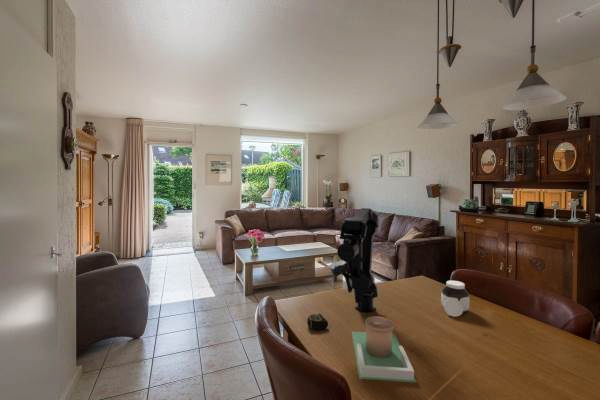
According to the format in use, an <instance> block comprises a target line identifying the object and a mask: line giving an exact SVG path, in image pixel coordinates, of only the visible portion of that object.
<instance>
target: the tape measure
mask: <svg viewBox="0 0 600 400" xmlns="http://www.w3.org/2000/svg"><path fill="white" fill-rule="evenodd" d="M306 322H307V326H308V328H310V329H311V330H317V331H319V330H323V329H326V328H328V326H329V322H328V320H327V319H326V318H325V317H324V316H323V314H321V313H317V314H316V313H313V314H310V315H309V316H308V317H307V321H306Z"/></svg>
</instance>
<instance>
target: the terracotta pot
mask: <svg viewBox="0 0 600 400" xmlns="http://www.w3.org/2000/svg"><path fill="white" fill-rule="evenodd" d="M364 325H365V332H366V351H367V353H369V354H370V355H372V356H374V357H378V358H387V357H389V356H391V355H392V334H393V329H394V322H393V321H392V320H390V319H389V318H386V317H383V316H377V315H376V316H375V315H374V316H369V317H367V318H366V319H365V324H364Z"/></svg>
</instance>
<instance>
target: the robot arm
mask: <svg viewBox="0 0 600 400" xmlns="http://www.w3.org/2000/svg"><path fill="white" fill-rule="evenodd" d="M379 228H380V219H379V214H378V215H377V214H376V213H375V212H373V208H369V207H368V208H365V207H364V208H363V207H361V208H359V209H358V211H357V213H356V214H355V215H354V216H351V217H347V218H345V219H344V220H343V222H342V225H341V230H340V233H339V239H340V240H343V243H341V244H340V245H339V246H338V247H337V251H336V252H337V256H338V257H339V258H340V260H338V261H335V262H333V263H331V264H329V267H328V268H329V269H330V272H331V275H332V276H333V277H334V278H337V277H339V276H340V275H342V276H343V277H344V279H345V285H346V288H347V292H348V293H350V294H351V293H352V292H353V295H354V296H353V297H354V301H355V303H356V304H357V305H356V306H355V307H354V309H356V310H357V311H360V312H361V313H366V314H368V313H371V312H374V311H376V310H377V308H376V307H374V299H375V298H378V295H379V294H378V288H377V287H378V286H377V284H376V281H375V276H374V275H373V273H372V266H373V265H372V264H373V247H374V238H375V236H376V235H377V233H378V230H379Z"/></svg>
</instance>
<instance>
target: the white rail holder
mask: <svg viewBox="0 0 600 400" xmlns="http://www.w3.org/2000/svg"><path fill="white" fill-rule="evenodd" d="M398 354H399V357H400V359H401V361H402V364H403V366H404V368H398V367H382V366H366V365H365V362H364V358H363V353H362V348H361V344H359V343H357V357H358V362H359V368H360V374H361V377H371V378H386V379H400V380H414V377H415V369H414V368H413V366H412V364H411V361H410V359H409V357H408V355H407V352H406V351H405V349H404V347H403V345H400V346H398Z"/></svg>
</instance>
